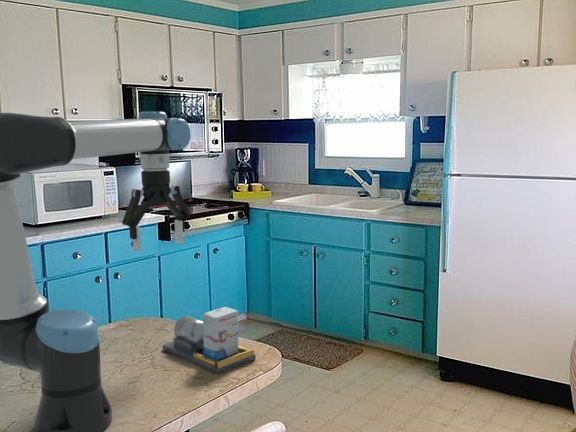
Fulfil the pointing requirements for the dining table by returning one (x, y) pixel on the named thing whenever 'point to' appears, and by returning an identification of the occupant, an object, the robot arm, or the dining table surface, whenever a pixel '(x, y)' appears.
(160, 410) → the dining table surface
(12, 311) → the robot arm
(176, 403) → the dining table surface
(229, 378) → the dining table surface
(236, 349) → the ink box
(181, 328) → the motor unit
